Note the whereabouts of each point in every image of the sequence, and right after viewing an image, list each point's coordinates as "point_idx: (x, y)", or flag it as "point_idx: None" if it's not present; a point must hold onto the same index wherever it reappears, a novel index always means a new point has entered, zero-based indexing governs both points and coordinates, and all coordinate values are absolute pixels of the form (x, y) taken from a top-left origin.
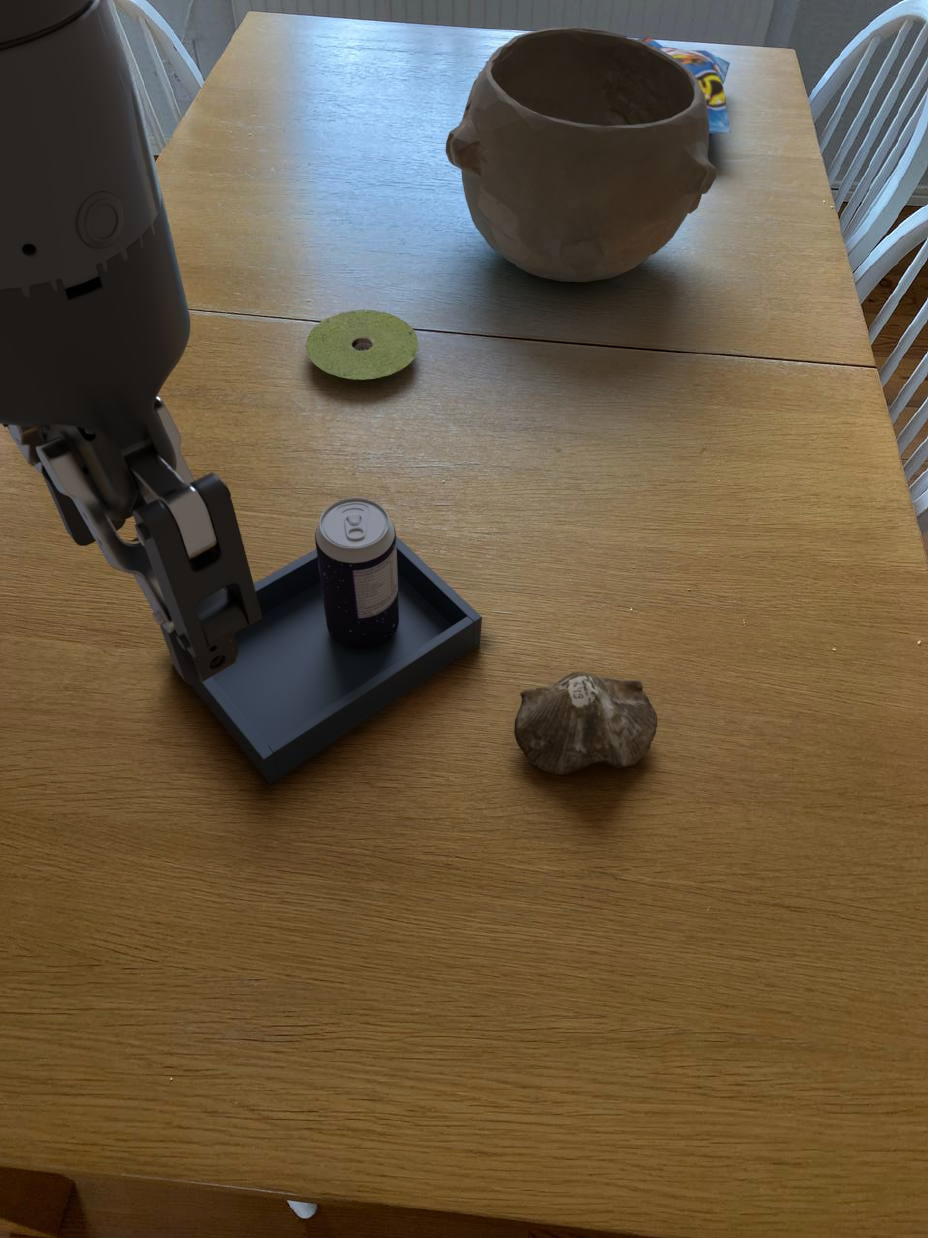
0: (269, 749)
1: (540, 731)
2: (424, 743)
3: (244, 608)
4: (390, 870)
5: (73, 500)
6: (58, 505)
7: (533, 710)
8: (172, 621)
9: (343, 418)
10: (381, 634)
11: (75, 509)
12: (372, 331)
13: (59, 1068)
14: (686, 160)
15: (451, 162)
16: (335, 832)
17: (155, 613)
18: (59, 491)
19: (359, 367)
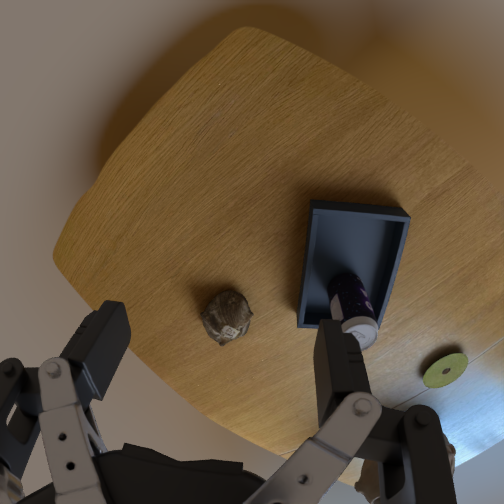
0: (315, 214)
1: (233, 306)
2: (274, 264)
3: (16, 410)
4: (233, 213)
5: (94, 478)
6: (333, 359)
7: (242, 311)
8: (16, 381)
9: (432, 344)
10: (328, 291)
11: (324, 361)
12: (446, 377)
13: (257, 49)
14: (364, 490)
15: (450, 444)
16: (266, 206)
17: (48, 373)
18: (98, 489)
19: (440, 364)
